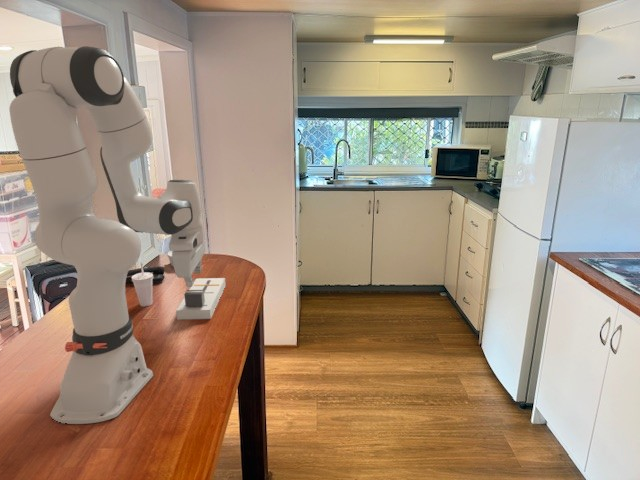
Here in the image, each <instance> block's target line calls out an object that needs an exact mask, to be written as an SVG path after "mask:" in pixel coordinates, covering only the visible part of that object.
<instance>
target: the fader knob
mask: <svg viewBox="0 0 640 480" xmlns="http://www.w3.org/2000/svg"><path fill="white" fill-rule="evenodd" d="M184 297H185V304H186V307H191V306H203V305H204V303H205V298H204V290H189V289H187V290H186V291H185V292H184Z"/></svg>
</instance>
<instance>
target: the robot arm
mask: <svg viewBox="0 0 640 480" xmlns="http://www.w3.org/2000/svg"><path fill="white" fill-rule="evenodd" d="M121 67H122V66H120V64H119V63H118V61H117V60H116V58H115V57H114V56H113V55H112V54H111V53H110V52H108V51H107V50H105V49H102V48H99V47H94V46H87V45H86V46H85V45H84V46H80V47H76V46H74V47H72V46H71V47H70V46H68V47H66V46H65V47H64V46H53V47H47V48H42V49H39V50H38V49H37V50H35V49H32V50H28V51H25V52H23V53H21V54H19V55H18V56H16V57H15V58H14V59H13V60H12V62H11V64H10V67H9V79H10V84H11V87H12V93H13V95H14V96H15V98H13V100H11V101H10V102H11V103H10V105H9V109H8V110H9V116H10V117H9V118H10V121H11V122H10V123H11V126H12V127H11V128H12V131H13V135H14V139H15V143H16V146H17V149H18V151H19V154H20V157H21V161H22V162H23V165H24V167H25V170H26V173H27V175H28V177H29V180H30V183H31V185H32V189H33V191H34V195H35V197H36V203H37V210H38V224H37V226H36V227H35V231H34V242H35V245H36V247H37V249H38V250H39V251H40V252H41V253H42V254H44V255H45V256H47V257H48V258H50V259H52V260H53V261H55V262H57V263H61V264H65V265H68V266H69V265H70V266H73V267H74V268H75V270H76V273H77V281H76V287H75V288H74V289H73V290H72V291H71V292H70V294H69V296H68V305H69V310H70V314H71V319H72V323H73V329H72V335H71V340H72V341H68V342H66V343H65V346H64V350H65V352H67V353H70V352H72V353H71V356H70V358H69V360H68V364H67V365H66V370H65V371H64V374H63V377H62V380H61V383H60V385H59V387H60V388H59V397H58V398H57V400H56V402H55V404H54V406H53V408H52V410H51V412H50V413H49V415H50V416H51V417H52V418H53V419H54V420H56V421H58V422H57V423H59V422H61V423H60V424H65V423H67V425H85V424H96V423H101V422H106V421H108V420H111V419H114V418H117V417H118V416H119V415H120V414H121V413H122V412H123V411H124V410H125V409H126V407H127V406H128V405H129V404H130V403H131V402H132V401H133V400H134V399H135V397H136V396H137V395H138V394H139V393H140V391H142V390H143V388H144V387H145V386H146V385H147V384H148V382H149V381H150V380H151V379H152V378H153V376H154V373H153V371H152V369H150V368H148V367H147V364H146V360H145V356H144V352H143V348H142V344H141V343H140V342H139V341H138V340H137V339H136V337H135V336H134V328H133V327H134V324H133V321H132V318H131V316H130V315H129V309H128V305H127V304H128V302H127V295H126V284H127V283H126V278H127V277H128V276H127V274H128V271H130V270H132V268H133V267H134V266H135V265H136V264H137V262H138V260H139V258H140V256H141V253H142V242H141V238H140V236H139V234H138V233H148V234H154V235H155V234H156V235H158V234H159V235H167V236H169V235H170V239H169V240H170V241H169V243H168V249H169V251H173V252H172V259H173V264H174V267H173V268H174V273H175V276H176V277H177V278H180V279H181V278H182V279H183V280H184V281H185V286H186V287H187V288H191V287H192V286H193V284H194V279H193V278H192V276H193V273H194V274H200V273H201V272H202V259H203V257H204V255H205V253H206V245H205V244H206V243H205V239H206V236H205V227H204V221H203V220H202V216H201V215H202V202H201V198H200V191H199V188H198V186H197V183H196V182H195V181H193V180H189V179H169V181H167V183H166V188H165V190H164V191H163V192H162V194H160V195H158V197H156V196H146V195H143V194H142V193H141V192H140V191H139V190H138V189H137V186H136V183H135V182H136V181H135V179H134V176H133V173H132V170H131V163H132V162H135V160H137V159H139V158H141V157H142V156H143V155H145V154H146V153H147V152H148V151H149V149H150V148H151V145H152V141H153V131H152V128H151V124H150V122H149V119H148V117H147V115H146V113H145V111H144V108H143V105H142V104H141V102H140V100H139V98H138V96H137V94H136V92H135V90H134V89H133V87H132V86H131V84H130V82H129V81H128V79H127V78H126V77H125V76H124V75H125V74H124V72H123V70H122V68H121ZM79 108H81V109H82V108H84V109H86V110H87V111H88V113H89V116H90V119H91V121H92V123H93V125H94V127H95V130H96V132H97V133H98V136H99V139H100V143H101V147H100V149H99V150H100V151H99V156H100V161H101V164H102V165H101V166H102V167H103V171H104V174H105V177H106V179H107V183H108V185H109V188H110V190H111V193H112V196H113V198H114V203H115V206H116V207H115V208H116V215H117V220H118V221H117V220H113V219H108V218H107V219H106V218H102V217H97V216H96V215H95V213H94V210H93V206H92V205H93V204H92V196H93V194H95V192H96V190H97V189H98V184H99V183H98V178H97V175H96V171H95V168H94V166H93V162H92V160H91V156H90V154H89V150H88V146H87V145H86V141H85V139H84V135H83V133H82V131H81V129H80V126H79V124H78V121H77V115H78V109H79ZM50 416H49V417H50ZM63 416H64V417H63ZM54 420H53V421H54ZM56 421H55V422H56Z"/></svg>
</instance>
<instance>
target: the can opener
mask: <svg viewBox="0 0 640 480" xmlns="http://www.w3.org/2000/svg"><path fill="white" fill-rule="evenodd" d="M143 271H144V272H149V273H152V274H153V279H152V285H157V284H159V283H161V282H164V279H165V277H166V276H165V275H164V273H165V268H164V267H163V266H162V265H161V266H159V265H157V266H151V267H150V266H149V267H147V266H143ZM138 273H142V271H141V268H137V269H136V268H135V269H129V271H128V274H127V277H126V283H125V284H129V283H133V282H132V276H133V275H135V274H138Z"/></svg>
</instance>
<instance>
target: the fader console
mask: <svg viewBox="0 0 640 480" xmlns="http://www.w3.org/2000/svg"><path fill="white" fill-rule="evenodd" d="M193 283H194V284H193V286H192V287H189V289H188V290H204V298H205V303H204V305H203V306H191V307H186V304H185V296H184V297H183V299H182V300H181V302H180V303H179V305H178V307H177V308H176V309H175V313H176V314H175V315H176V320H211V319H212V317H213V316H214V313H215V310H216V309H215V308H217V306H218V304H219V302H220V300H221V298H222V295H223V293H224V291H225V289H226V278H225V277H217V278H216V277H211V278H209V277H207V278H205V277H204V278H201V277H199V278H195V280H193ZM224 288H225V289H224ZM223 290H224V291H223ZM220 297H221V298H220ZM219 299H220V300H219Z"/></svg>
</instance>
